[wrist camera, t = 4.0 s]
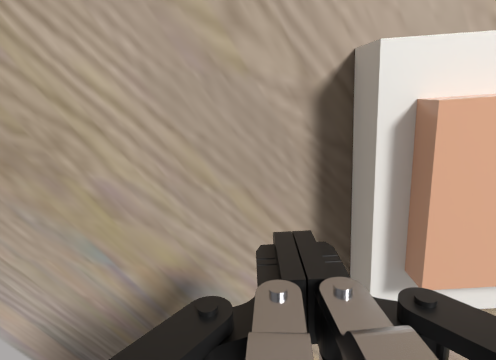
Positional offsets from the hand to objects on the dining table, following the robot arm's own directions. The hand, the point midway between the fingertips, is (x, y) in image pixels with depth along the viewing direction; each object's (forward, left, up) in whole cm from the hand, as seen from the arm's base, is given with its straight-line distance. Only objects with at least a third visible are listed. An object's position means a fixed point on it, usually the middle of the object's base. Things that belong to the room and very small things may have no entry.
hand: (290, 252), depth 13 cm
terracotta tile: (0, +11, -6) cm, 12 cm away
